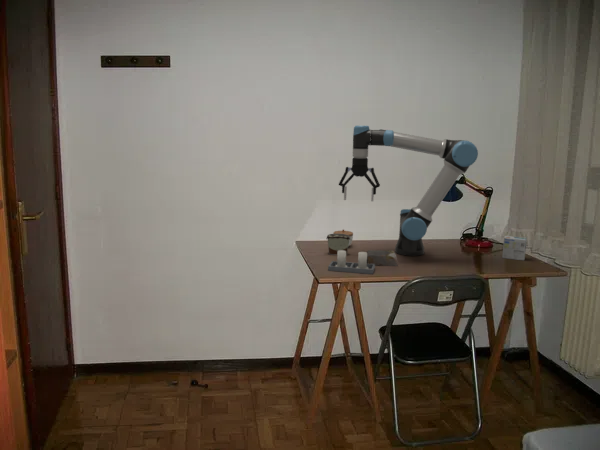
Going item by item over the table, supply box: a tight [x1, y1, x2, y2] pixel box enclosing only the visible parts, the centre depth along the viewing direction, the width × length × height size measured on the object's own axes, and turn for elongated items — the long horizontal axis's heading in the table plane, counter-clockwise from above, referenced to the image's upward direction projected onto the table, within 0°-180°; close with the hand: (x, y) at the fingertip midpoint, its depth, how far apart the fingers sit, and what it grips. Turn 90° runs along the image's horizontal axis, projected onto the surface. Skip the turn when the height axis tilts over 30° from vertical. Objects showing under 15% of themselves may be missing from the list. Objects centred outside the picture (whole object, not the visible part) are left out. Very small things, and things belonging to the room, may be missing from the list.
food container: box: [326, 233, 350, 256], centre depth 262 cm, size 12×6×10 cm, turn 84°
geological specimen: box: [367, 249, 399, 267], centre depth 246 cm, size 11×6×15 cm
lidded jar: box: [332, 229, 354, 247], centre depth 277 cm, size 11×11×9 cm
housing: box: [327, 250, 376, 275], centre depth 234 cm, size 20×10×8 cm, turn 76°
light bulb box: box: [501, 235, 527, 261], centre depth 258 cm, size 11×7×11 cm, turn 65°
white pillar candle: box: [355, 251, 369, 269], centre depth 232 cm, size 6×6×8 cm
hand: (358, 200), depth 252 cm, fingers open, 13 cm apart
